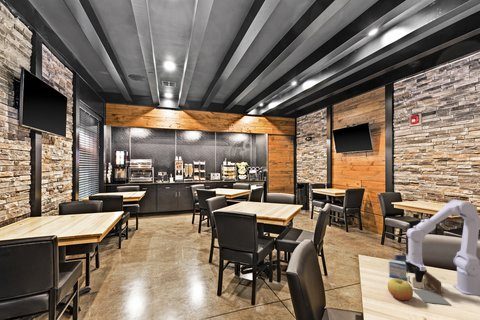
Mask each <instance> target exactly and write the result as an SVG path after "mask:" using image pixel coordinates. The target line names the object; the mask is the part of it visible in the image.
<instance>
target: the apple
mask: <svg viewBox="0 0 480 320" xmlns="http://www.w3.org/2000/svg"><path fill="white" fill-rule="evenodd" d="M413 289H414V288H413V287H412V286H411V285H410V284H409V283H408V281H407V280H403V279H398V278H392V279H390V280H389V281H388V282H387V291H388V292H389V294H390V295H391V296H392V297H393V298H395V299H396V300H400V301H409V300H411V299H412V298H413V296H414V295H413V294H414V291H413Z"/></svg>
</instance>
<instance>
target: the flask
mask: <svg viewBox="0 0 480 320" xmlns="http://www.w3.org/2000/svg"><path fill="white" fill-rule="evenodd" d="M406 255H407V256H408V253H404V251H403V250H401V251H400V253H393V260H397V261H403V262H405V261H406V260H407V259H406ZM406 272H409V270H408V267H407V265H406Z"/></svg>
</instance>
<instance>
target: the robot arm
mask: <svg viewBox="0 0 480 320" xmlns="http://www.w3.org/2000/svg"><path fill="white" fill-rule="evenodd" d="M450 216H460V217H461V218H462V219H463V229H462V235H461V243H460V250H459V251H457V252H456V255H455V257H453V264H454V266H456V276H457V277H456V281H457V283H456V284H452V286H453V287H454V288H455V289H457V290H458V291H460V292H461V293H462V294H464V295H472V296H480V259H479V258H478V256H477V250H478V249H477V248H478V239H479V234H480V233H479V232H480V215H479V213H478V207H477V206H476V205H475V204H473V203H472V202H470V201H463V200H460V199H451V200H450V201H448V202H447V203H445V205H444V206H443V207H442V208H441V209H440V210H438V211H437V212H436V213H435V214H434V215H432V216H431V217H430V218H424V219H420V222H419V223H418V224H416V225H413V226H412V228H408V229H407V230H406V232H405V235H406V237H407V239H408V241H407V242H408V243H407V246H408V253H407V255H408V256H407V255H406V259H407V260H406V261H405V263H406V265H407V267H408V270H409V271H408V273H415V278H416V282H422V279H423V278H424V274H425V273H426V272H428V270H427V269H426V266H425V264H424V262H423V241H424V240H425V239H426V236H427V235H429V234H430V233H431V232H432V231H434V230H435V229H436V228H437V225H438V224H439V223H441V222H443V220H445V219H447V218H448V217H450Z"/></svg>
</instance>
